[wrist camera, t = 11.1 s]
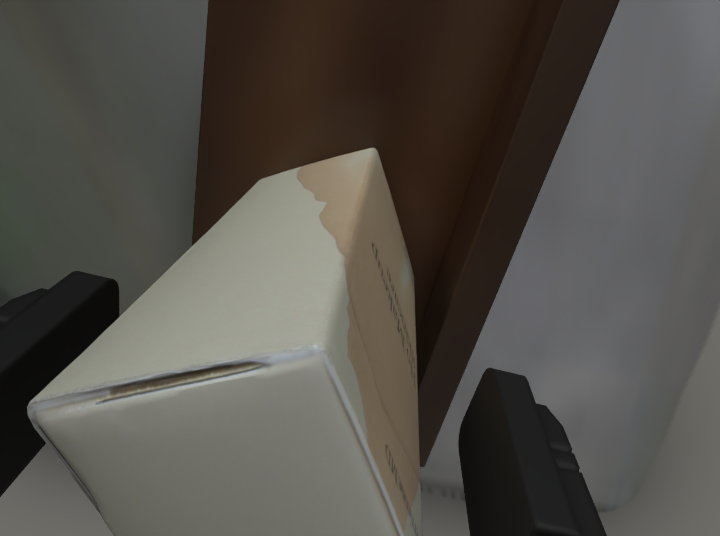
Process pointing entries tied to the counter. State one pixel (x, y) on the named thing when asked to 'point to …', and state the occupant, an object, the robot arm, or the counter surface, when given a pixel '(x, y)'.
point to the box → (258, 375)
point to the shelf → (404, 132)
